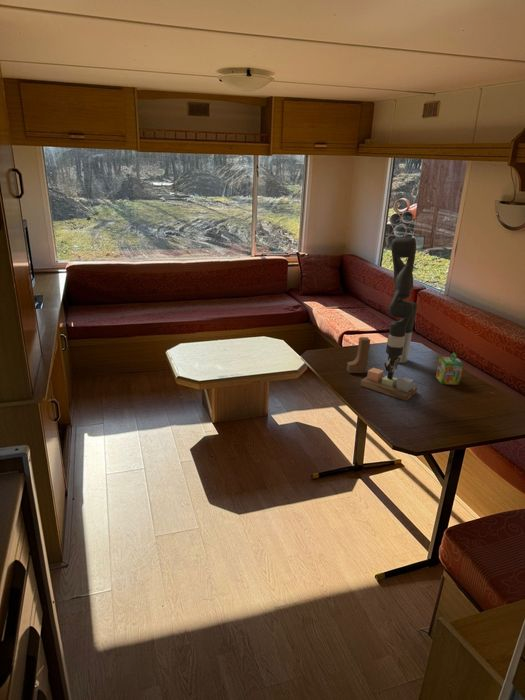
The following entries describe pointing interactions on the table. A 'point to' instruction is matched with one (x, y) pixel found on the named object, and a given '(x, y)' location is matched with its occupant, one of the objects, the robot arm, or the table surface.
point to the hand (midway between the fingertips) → (389, 378)
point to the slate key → (404, 384)
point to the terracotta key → (375, 375)
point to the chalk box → (449, 370)
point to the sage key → (389, 381)
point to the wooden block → (360, 357)
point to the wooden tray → (388, 389)
